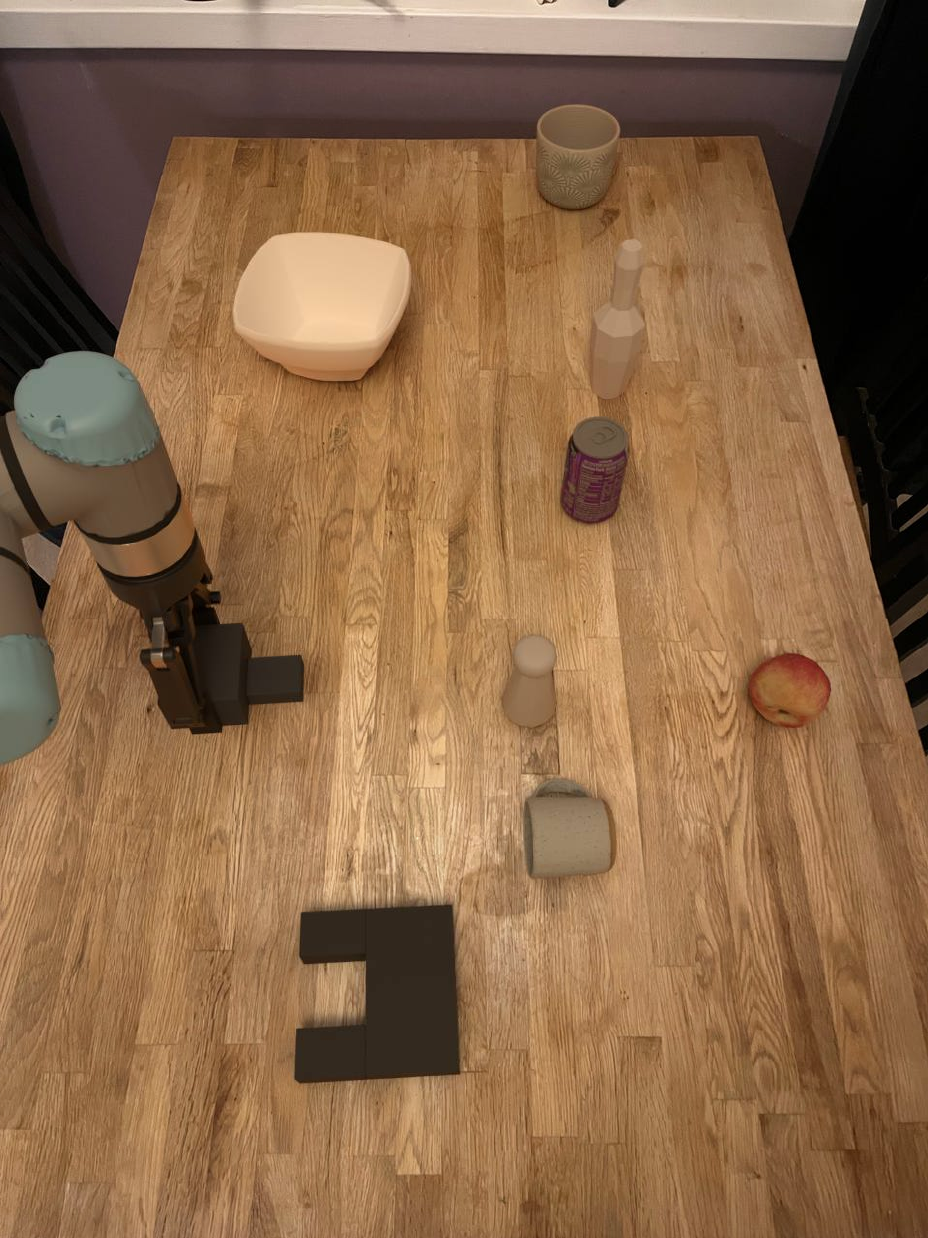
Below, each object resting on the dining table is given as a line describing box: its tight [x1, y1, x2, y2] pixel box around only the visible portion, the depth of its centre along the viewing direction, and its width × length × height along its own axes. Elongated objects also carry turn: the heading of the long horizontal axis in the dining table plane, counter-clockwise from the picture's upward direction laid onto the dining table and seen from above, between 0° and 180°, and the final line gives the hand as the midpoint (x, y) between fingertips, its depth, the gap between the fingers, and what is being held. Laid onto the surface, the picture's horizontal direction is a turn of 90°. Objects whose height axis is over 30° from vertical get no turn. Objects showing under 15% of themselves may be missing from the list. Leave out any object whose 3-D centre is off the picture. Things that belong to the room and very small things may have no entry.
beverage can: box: [559, 416, 630, 524], centre depth 113 cm, size 7×7×12 cm
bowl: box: [231, 232, 413, 382], centre depth 127 cm, size 22×22×12 cm
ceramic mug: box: [522, 778, 617, 880], centre depth 92 cm, size 11×8×8 cm
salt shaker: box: [500, 633, 558, 729], centre depth 97 cm, size 6×6×13 cm
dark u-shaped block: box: [293, 903, 461, 1085], centre depth 86 cm, size 14×14×3 cm
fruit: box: [748, 652, 832, 729], centre depth 99 cm, size 8×8×8 cm
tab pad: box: [156, 622, 305, 730], centre depth 88 cm, size 12×8×5 cm, turn 94°
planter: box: [535, 103, 621, 210], centre depth 147 cm, size 12×12×11 cm
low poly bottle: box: [588, 238, 646, 400], centre depth 119 cm, size 6×6×22 cm
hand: (210, 687), depth 89 cm, fingers closed on tab pad, 8 cm apart
